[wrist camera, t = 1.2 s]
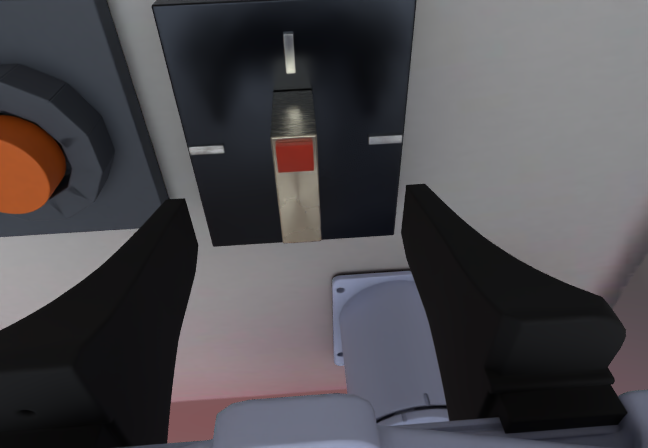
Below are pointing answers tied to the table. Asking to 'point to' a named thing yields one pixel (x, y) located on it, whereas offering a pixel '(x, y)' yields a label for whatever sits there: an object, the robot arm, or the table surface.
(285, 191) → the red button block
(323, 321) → the table surface
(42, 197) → the button
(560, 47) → the table surface
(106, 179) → the button housing
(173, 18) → the dial panel
